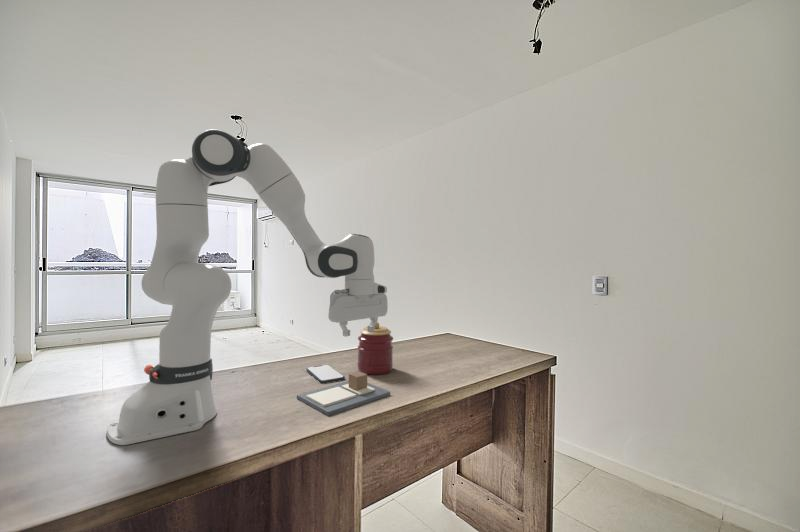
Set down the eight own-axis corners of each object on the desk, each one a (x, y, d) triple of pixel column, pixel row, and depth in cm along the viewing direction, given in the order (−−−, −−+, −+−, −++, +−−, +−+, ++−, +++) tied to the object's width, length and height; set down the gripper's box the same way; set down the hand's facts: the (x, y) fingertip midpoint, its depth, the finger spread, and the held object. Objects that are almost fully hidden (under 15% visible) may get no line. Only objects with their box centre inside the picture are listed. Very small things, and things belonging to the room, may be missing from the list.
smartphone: (346, 381, 124) (328, 368, 138) (346, 376, 124) (328, 364, 138) (320, 386, 120) (305, 371, 133) (320, 381, 120) (305, 367, 133)
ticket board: (328, 415, 96) (328, 409, 96) (296, 398, 107) (296, 392, 107) (390, 394, 111) (390, 389, 111) (357, 381, 122) (357, 376, 122)
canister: (376, 362, 145) (377, 317, 145) (400, 370, 136) (401, 322, 136) (350, 369, 136) (350, 321, 135) (373, 377, 127) (374, 326, 126)
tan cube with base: (359, 395, 107) (359, 380, 107) (341, 387, 114) (341, 372, 113) (375, 390, 111) (375, 375, 111) (356, 383, 118) (356, 368, 118)
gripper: (337, 291, 102) (336, 340, 103) (390, 287, 117) (390, 330, 117) (324, 289, 107) (323, 337, 107) (377, 285, 121) (377, 328, 122)
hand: (359, 333), depth 112 cm, fingers open, 8 cm apart
